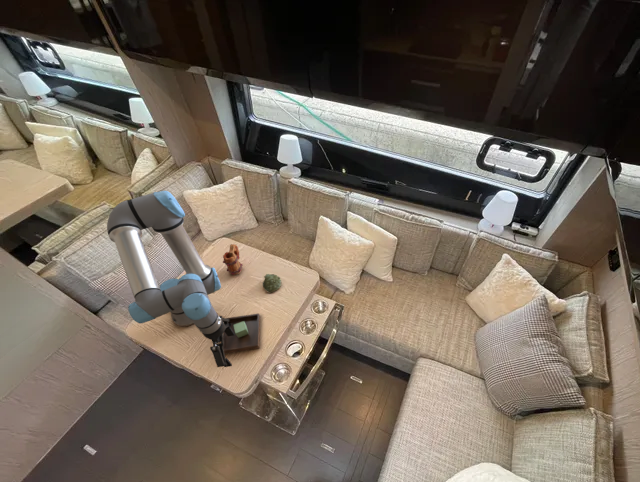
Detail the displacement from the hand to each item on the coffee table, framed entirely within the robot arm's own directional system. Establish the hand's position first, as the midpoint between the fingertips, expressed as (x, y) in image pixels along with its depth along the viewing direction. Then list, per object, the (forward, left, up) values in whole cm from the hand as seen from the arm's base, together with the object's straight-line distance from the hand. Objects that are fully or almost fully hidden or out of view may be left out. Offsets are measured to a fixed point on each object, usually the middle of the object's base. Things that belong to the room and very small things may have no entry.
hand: (229, 349), depth 115 cm
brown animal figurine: (-6, +61, -17) cm, 63 cm away
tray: (0, +16, -17) cm, 23 cm away
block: (0, +17, -16) cm, 23 cm away
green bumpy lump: (+14, +45, -17) cm, 50 cm away
